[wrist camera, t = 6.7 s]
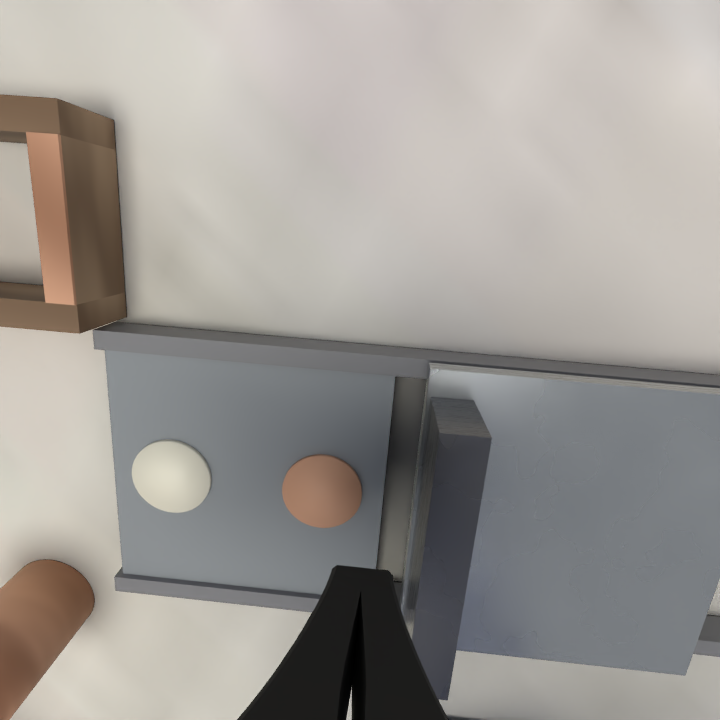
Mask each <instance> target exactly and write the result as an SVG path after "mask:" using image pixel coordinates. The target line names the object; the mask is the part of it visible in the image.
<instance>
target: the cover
mask: <svg viewBox="0 0 720 720" xmlns="http://www.w3.org/2000/svg"><path fill="white" fill-rule="evenodd" d="M719 578H720V388H710V387H699V386H687V385H676V384H665V383H654V382H642V381H631V380H620V379H609V378H597V377H586V376H575V375H564V374H552V373H541V372H530V371H518V370H507V369H496V368H485V367H473V366H462V365H451V364H440V363H429V364H428V373H427V381H426V389H425V397H424V406H423V414H422V422H421V430H420V438H419V447H418V455H417V463H416V471H415V480H414V488H413V496H412V504H411V512H410V521H409V529H408V537H407V545H406V554H405V562H404V570H403V578H402V586H401V595H400V603H399V605H400V608H401V611H402V615H403V618H404V621H405V623H406V626H407V629H408V632H409V634H410V637H411V639H412V642H413V644H414V647H415V649H416V652H417V655H418V657H419V659H420V662H421V664H422V666H423V669H424V671H425V673H426V675H427V677H428V679H429V682H430V684H431V686H432V688H433V690H434V692H435V694H436V696H437V698H438V699H440V700H448V695H449V689H450V683H451V677H452V671H453V665H454V659H455V654H456V650H460V651H469V652H478V653H487V654H496V655H505V656H514V657H523V658H532V659H541V660H550V661H559V662H568V663H577V664H586V665H595V666H604V667H613V668H622V669H631V670H640V671H649V672H658V673H667V674H676V675H686V672H687V669H688V666H689V664H690V661H691V658H692V655H693V652H694V649H695V647H696V644H697V641H698V638H699V635H700V632H701V630H702V627H703V624H704V621H705V618H706V615H707V613H708V610H709V607H710V604H711V601H712V598H713V596H714V593H715V590H716V587H717V584H718V581H719Z"/></svg>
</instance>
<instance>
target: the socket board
mask: <svg viewBox="0 0 720 720" xmlns="http://www.w3.org/2000/svg"><path fill="white" fill-rule="evenodd" d="M0 142H13V143H27V146H28V155H29V164H30V172H31V181H32V190H33V198H34V207H35V216H36V225H37V233H38V242H39V251H40V259H41V268H42V277H43V285H44V286H43V285H32V284H20V283H8V282H0V326H1V327H12V328H23V329H35V330H46V331H57V332H68V333H79V334H80V333H83V332H85V331H88V330H91V329H94V328H97V327H100V326H103V325H105V324H108V323H111V322H114V321H117V320H120V319H123V318H125V317H127V314H126V299H125V284H124V269H123V254H122V239H121V224H120V209H119V194H118V179H117V164H116V149H115V134H114V120H112V119H109V118H107V117H104V116H101V115H99V114H96V113H94V112H91V111H88V110H86V109H83V108H81V107H78V106H75V105H73V104H70V103H67V102H65V101H62V100H60V99H57V98H42V97H28V96H14V95H0Z"/></svg>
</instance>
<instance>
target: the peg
mask: <svg viewBox="0 0 720 720" xmlns="http://www.w3.org/2000/svg"><path fill="white" fill-rule="evenodd" d="M93 607H94V594H93V591H92V588H91V586H90V584H89V583H88V581H87V580H86V579H85V578H84V576H83V575H82V574H80V573H79V572H78V571H77V570H75V569H74V568H72V567H71V566H69V565H67V564H64V563H62V562H58V561H54V560H38V561H34V562H31V563H29V564H27V565H26V566H24V567H23V568H22V569H21V570H20V571H19V572H18V573H17V574H16V575H15V576H14V577H12V578H11V579H10V580H9V581H8V582H7V583H6V584H5V585H4V586H3V587H2V588H1V589H0V720H9V719H10V718H11V717H12V716H13V714H14V713H15V712H16V710H17V709H18V708H19V706H20V705H21V704H22V703H23V701H24V700H25V699H26V697H27V696H28V695H29V693H30V692H31V691H32V690H33V688H34V687H35V686H36V684H37V683H38V682H39V680H40V679H41V678H42V677H43V675H44V674H45V673H46V671H47V670H48V669H49V667H50V666H51V665H52V663H53V662H54V661H55V660H56V658H57V657H58V656H59V654H60V653H61V652H62V650H63V649H64V648H65V647H66V645H67V644H68V643H69V641H70V640H71V639H72V637H73V636H74V635H75V634H76V632H77V631H78V630H79V628H80V627H81V626H82V624H83V623H84V622H85V620H86V619H87V618H88V617H89V615H90V614H91V612H92V610H93Z"/></svg>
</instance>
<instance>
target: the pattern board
mask: <svg viewBox="0 0 720 720" xmlns="http://www.w3.org/2000/svg"><path fill="white" fill-rule="evenodd" d="M93 339H94V349H98V350H105V359H106V371H107V384H108V396H109V408H110V420H111V433H112V445H113V457H114V470H115V482H116V494H117V506H118V519H119V531H120V543H121V555H122V568H121V569H120V570H119V572H118V573H117V574H116V576H115V577H114V578H115V589H116V591H122V592H131V593H140V594H149V595H159V596H168V597H177V598H186V599H195V600H204V601H214V602H223V603H232V604H241V605H250V606H259V607H268V608H278V609H287V610H296V611H305V612H313V610H314V609H315V607H316V605H317V603H318V601H319V599H320V597H321V595H322V593H323V591H324V589H325V586H326V584H327V582H328V579H329V577H330V574H331V570H332V568H333V567H335V566H336V565H343V566H352V567H362V568H371V569H376V563H377V553H378V543H379V533H380V523H381V513H382V503H383V494H384V484H385V474H386V464H387V454H388V444H389V435H390V425H391V415H392V405H393V395H394V385H395V376H398V377H409V378H420V379H427V373H428V364H429V363H440V364H451V365H462V366H473V367H485V368H496V369H507V370H518V371H530V372H541V373H552V374H564V375H575V376H586V377H597V378H609V379H620V380H631V381H642V382H654V383H665V384H676V385H687V386H699V387H710V388H720V375H713V374H701V373H690V372H679V371H667V370H656V369H644V368H633V367H622V366H610V365H599V364H587V363H576V362H565V361H553V360H542V359H530V358H519V357H508V356H496V355H485V354H473V353H462V352H451V351H439V350H428V349H416V348H405V347H394V346H382V345H371V344H359V343H348V342H337V341H325V340H314V339H303V338H291V337H280V336H268V335H257V334H246V333H234V332H223V331H211V330H200V329H189V328H177V327H166V326H154V325H143V324H132V323H120V322H114V323H111V324H108V325H105V326H103V327H100V328H97V329H94V330H93ZM401 586H402V583H399V582H394V587H395V591H396V595H397V598H398V602H399V603H400V595H401ZM693 654H698V655H708V656H717V657H720V617H719V616H710V615H706V618H705V621H704V624H703V627H702V630H701V632H700V635H699V638H698V641H697V644H696V647H695V649H694V652H693Z"/></svg>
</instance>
